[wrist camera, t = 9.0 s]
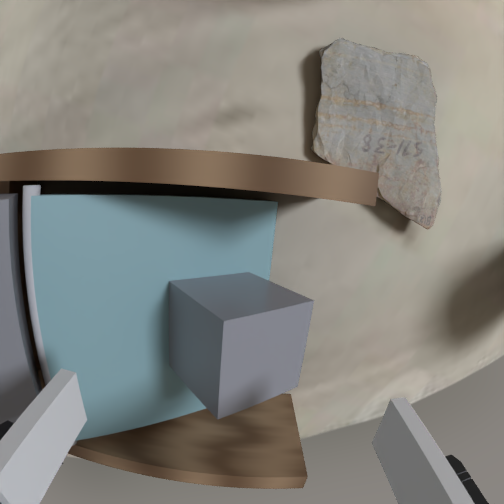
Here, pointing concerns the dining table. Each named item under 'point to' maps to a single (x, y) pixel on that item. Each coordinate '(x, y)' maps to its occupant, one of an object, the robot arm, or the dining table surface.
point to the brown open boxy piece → (204, 422)
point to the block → (236, 339)
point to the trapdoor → (113, 294)
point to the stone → (381, 124)
